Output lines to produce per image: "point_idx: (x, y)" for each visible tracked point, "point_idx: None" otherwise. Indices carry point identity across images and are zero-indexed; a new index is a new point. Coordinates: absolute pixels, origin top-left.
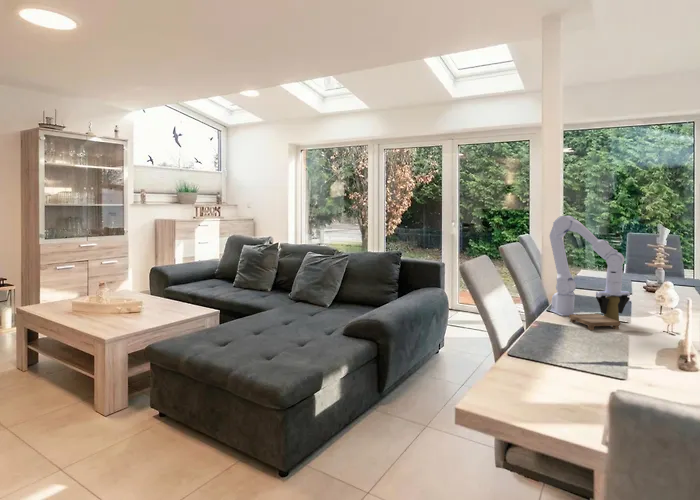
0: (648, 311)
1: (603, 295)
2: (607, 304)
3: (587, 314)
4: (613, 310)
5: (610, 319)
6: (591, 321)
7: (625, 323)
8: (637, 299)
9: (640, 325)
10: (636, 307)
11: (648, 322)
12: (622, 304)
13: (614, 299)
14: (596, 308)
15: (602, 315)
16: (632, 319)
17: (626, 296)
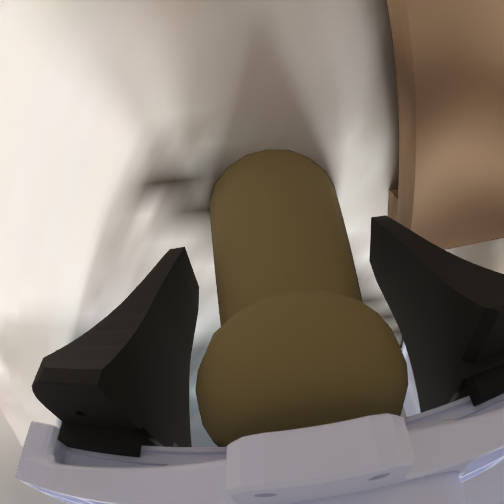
0: (7, 377)
1: (498, 401)
2: (432, 269)
3: (497, 224)
4: (312, 223)
5: (443, 30)
6: None
7: (180, 142)
8: None
9: (80, 93)
10: (42, 413)
11: (5, 203)
12: (154, 318)
13: (355, 348)
14: (199, 426)
15: (415, 191)
16: (78, 269)
17: (71, 428)
